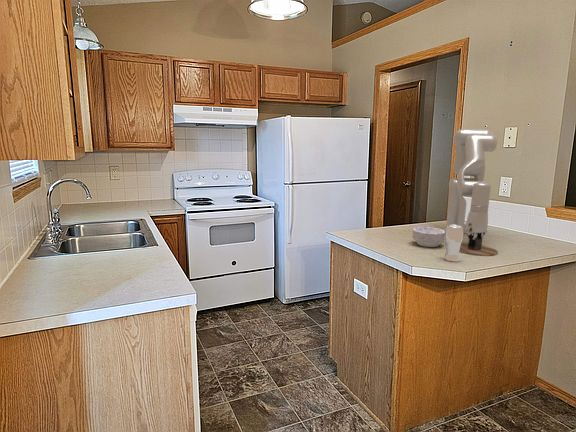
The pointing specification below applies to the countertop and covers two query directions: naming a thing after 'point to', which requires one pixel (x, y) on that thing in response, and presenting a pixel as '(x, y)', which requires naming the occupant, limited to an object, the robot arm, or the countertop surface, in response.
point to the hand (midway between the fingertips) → (474, 246)
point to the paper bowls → (428, 236)
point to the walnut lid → (478, 249)
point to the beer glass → (453, 242)
